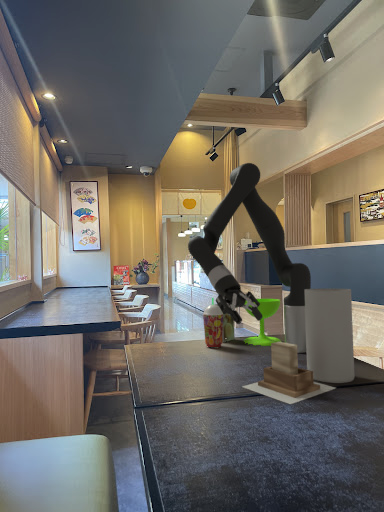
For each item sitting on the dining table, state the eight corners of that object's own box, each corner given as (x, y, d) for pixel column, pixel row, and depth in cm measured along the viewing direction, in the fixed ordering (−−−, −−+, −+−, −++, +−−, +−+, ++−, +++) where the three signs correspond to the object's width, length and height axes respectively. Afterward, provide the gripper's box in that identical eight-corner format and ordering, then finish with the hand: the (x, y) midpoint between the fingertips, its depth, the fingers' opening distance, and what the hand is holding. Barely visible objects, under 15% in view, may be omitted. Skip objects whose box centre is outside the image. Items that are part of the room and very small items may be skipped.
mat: (286, 375, 105) (286, 374, 105) (336, 389, 92) (336, 387, 92) (241, 388, 95) (241, 386, 95) (290, 405, 82) (290, 404, 82)
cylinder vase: (359, 385, 95) (355, 290, 96) (310, 383, 97) (307, 291, 98) (349, 372, 107) (345, 288, 108) (305, 370, 110) (302, 288, 111)
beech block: (280, 378, 98) (279, 341, 98) (298, 384, 93) (297, 345, 93) (272, 381, 96) (271, 343, 96) (290, 386, 91) (288, 346, 91)
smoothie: (200, 346, 149) (199, 297, 150) (217, 343, 153) (216, 296, 153) (209, 349, 142) (208, 298, 142) (227, 347, 145) (226, 297, 146)
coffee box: (222, 338, 166) (222, 303, 167) (235, 339, 162) (234, 303, 163) (211, 341, 159) (210, 304, 159) (224, 342, 155) (223, 305, 156)
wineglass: (253, 347, 145) (252, 302, 146) (237, 340, 160) (236, 299, 161) (288, 344, 150) (287, 300, 150) (270, 337, 165) (268, 298, 166)
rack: (283, 378, 101) (282, 362, 101) (320, 389, 92) (319, 371, 92) (257, 385, 96) (257, 368, 96) (294, 397, 86) (294, 378, 86)
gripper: (211, 275, 112) (239, 315, 102) (244, 273, 120) (273, 309, 110) (202, 291, 116) (227, 331, 106) (234, 288, 124) (261, 325, 115)
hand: (250, 320), depth 108 cm, fingers open, 8 cm apart
